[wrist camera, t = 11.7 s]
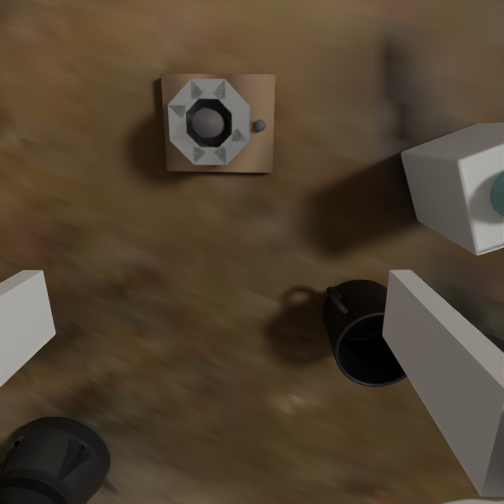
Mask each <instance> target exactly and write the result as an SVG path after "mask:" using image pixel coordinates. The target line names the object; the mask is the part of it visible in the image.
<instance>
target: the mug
mask: <svg viewBox="0 0 504 504" xmlns="http://www.w3.org/2000/svg"><path fill="white" fill-rule="evenodd" d="M387 290H388V289H387V288H385V287H384V286H382V285H381V284H379V283H377V282H374V281H370V280H355V281H350V282H347V283H345V284H343V285H341V286H339V287H338V288H337V289H335V288H333V287H328V288H327V294H328V296H329V297H328V299H327V301H326V303H325V306H324V310H323V319H324V323H325V326H326V330H327V333H328V336H329V340H330V343H331V346H332V350H333V353H334V356H335V360H336V363H337V365H338V367H339V369H340V370H341V372H342V373H343V374H344V375H345V376H346V377H347V378H349V379H350V380H352V381H354V382H355V383H358V384H360V385H364V386H370V387H382V386H387V385H391V384H394V383H397V382H399V381H401V380H402V379H404V378H406V377H407V375H406V373H405V372H404V370H403V368H402V367H401V365H400V364H399V362H398V360H397V359H396V357H395V355H394V354H393V352H392V350H391V349H390V347H389V346H388V344H387V342H386V341H385V339H384V337H383V336H382V333H383V324H384V316H385V307H386V298H387Z"/></svg>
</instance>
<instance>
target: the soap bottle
mask: <svg viewBox="0 0 504 504" xmlns="http://www.w3.org/2000/svg"><path fill="white" fill-rule="evenodd" d="M401 158H402V162H403V166H404V170H405V174H406V178H407V182H408V185H409V189H410V193H411V197H412V201H413V205H414V209H415V213H416V217H417V220H418V221H419V222H420V223H422V224H424V225H425V226H427V227H429V228H431V229H432V230H434V231H436V232H437V233H439V234H441V235H442V236H444V237H446V238H448V239H449V240H451V241H453V242H454V243H456V244H458V245H459V246H461V247H463V248H465V249H466V250H468V251H470V252H471V253H473V254H475V255H481V254H484V253H488V252H491V251H494V250H497V249H500V248H503V247H504V123H481V124H474V125H471V126H469V127H466V128H464V129H461V130H458V131H456V132H453V133H450V134H448V135H445V136H442V137H440V138H437V139H434V140H432V141H429V142H426V143H424V144H421V145H419V146H416V147H413V148H411V149H408V150H405V151H403V152H401Z"/></svg>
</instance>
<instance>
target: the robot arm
mask: <svg viewBox="0 0 504 504" xmlns="http://www.w3.org/2000/svg"><path fill="white" fill-rule="evenodd" d="M55 334H56V333H55V328H54V323H53V318H52V313H51V308H50V303H49V299H48V294H47V289H46V284H45V279H44V274H43V270H23V271H21V272H19V273H18V274H16V275H14V276H12V277H10V278H9V279H7V280H5V281H3V282H1V283H0V387H1V386H2V385H3V384H4V383H5V382H6V381H7V380H8V379H9V378H10V377H11V376H12V375H13V374H14V373H15V372H16V371H17V370H19V369H20V368H21V367H22V366H23V365H24V364H25V363H26V362H27V361H28V360H29V359H30V358H31V357H32V356H33V355H34V354H35V353H36V352H37V351H38V350H39V349H41V348H42V347H43V346H44V345H45V344H46V343H47V342H48V341H49V340H50V339H51V338H52V337H53V336H54V335H55ZM382 336H383V337H384V339H385V341H386V342H387V344H388V346H389V347H390V349H391V350H392V352H393V354H394V355H395V357H396V359H397V360H398V362H399V364H400V365H401V367H402V368H403V370H404V372H405V373H406V375H407V377H408V378H409V380H410V382H411V383H412V385H413V387H414V388H415V390H416V391H417V393H418V395H419V396H420V398H421V400H422V401H423V403H424V405H425V406H426V408H427V409H428V411H429V413H430V414H431V416H432V418H433V419H434V421H435V423H436V424H437V426H438V428H439V429H440V431H441V432H442V434H443V436H444V437H445V439H446V441H447V442H448V444H449V446H450V447H451V449H452V450H453V452H454V454H455V455H456V457H457V459H458V460H459V462H460V464H461V465H462V467H463V469H464V470H465V472H466V473H467V475H468V477H469V478H470V480H471V482H472V483H473V485H474V487H475V488H476V490H477V491H478V493H479V495H480V496H481V497H504V341H503V340H501V339H499V338H497V337H495V336H493V335H491V334H482V333H481V332H480V331H479V330H477V329H476V328H475V327H474V326H473V325H472V324H471V323H470V322H468V321H467V320H466V319H465V318H464V317H463V316H462V315H461V314H459V313H458V312H457V311H456V310H455V309H454V308H453V307H452V306H450V305H449V304H448V303H447V302H446V301H445V300H444V299H443V298H441V297H440V296H439V295H438V294H437V293H436V292H435V291H434V290H432V289H431V288H430V287H429V286H428V285H427V284H426V283H425V282H424V281H422V280H421V279H420V278H419V277H418V276H417V275H416V274H415V273H413V272H412V271H411V270H390V272H389V281H388V290H387V298H386V307H385V316H384V324H383V333H382ZM109 468H110V456H109V452H108V449H107V447H106V445H105V444H104V442H103V441H102V440H101V439H100V437H99V436H98V435H97V434H95V433H94V432H93V431H92V430H90V429H89V428H87V427H86V426H84V425H82V424H80V423H77V422H75V421H72V420H68V419H63V418H43V419H39V420H36V421H34V422H32V423H30V424H28V425H27V426H26V427H24V428H23V430H22V431H21V432H20V433H19V434H18V436H17V437H16V438H15V439H14V441H13V442H12V444H11V445H10V447H9V450H8V452H7V455H6V457H5V460H4V462H3V465H2V467H1V470H0V504H86V503H87V502H88V501H89V500H90V498H91V497H92V496H93V495H94V494H95V493H96V492H97V491H98V490H99V488H100V487H101V485H102V484H103V482H104V479H105V477H106V475H107V473H108V471H109Z"/></svg>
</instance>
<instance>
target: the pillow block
mask: <svg viewBox="0 0 504 504" xmlns="http://www.w3.org/2000/svg"><path fill="white" fill-rule="evenodd" d="M190 79H226V81H227V82H228V83H229V84H230V85H231V86H232V87H233V88H234V89H235V90H236V92H237V93H238V94H239V95H240V96H241V97H242V98H243V99H244V100H245V101H246V103H247V104H248V105H249V106H250V107H251V109H252V138H251V141H250V142H249V143H248V144H247V145H246V147H245V148H244V149H243V150H242V151H241V152H240V153H239V154H238V155H237V156H236V157H235V158H234V159H233V160H232V161H231V162H230V163H228V164H227V165H194V164H193V163H192V162H191V161H190V160H189V159H188V158H187V157H186V156H185V155H184V154H183V153H182V152H181V151H180V150H179V149H178V148H177V147H176V146H175V145H174V144H173V143H172V142H171V141H170V133H169V116H168V104H169V103H170V102H171V101H172V100H173V99H174V97H175V96H176V95H177V94H178V93H179V92H180V90H181V89H182V88H183V87H184V86H185V85H186V83H187V82H188V81H189V80H190ZM161 84H162V100H163V116H164V132H165V147H166V163H167V171H197V172H257V173H272V171H273V137H274V104H275V75H267V74H161ZM192 126H193V129H194V131H195V132H196V133H197V134H198V135H199V136H200V137H201V138H202V139H203V140H204V141H205V142H206V143H207V144H208V145H214V146H221V145H222V144H223V143H224V142H225V141H226V139H227V138H228V137H229V136H230V135H231V134H232V113H231V112H230V111H229V110H228V109H227V108H226V107H225V106H224V105H223V104H222V103H207V104H206V105H205V106H204V107H203V108H202V109H200V110H198V111H197V112H196V113H195V114H194V116H193V119H192Z"/></svg>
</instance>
